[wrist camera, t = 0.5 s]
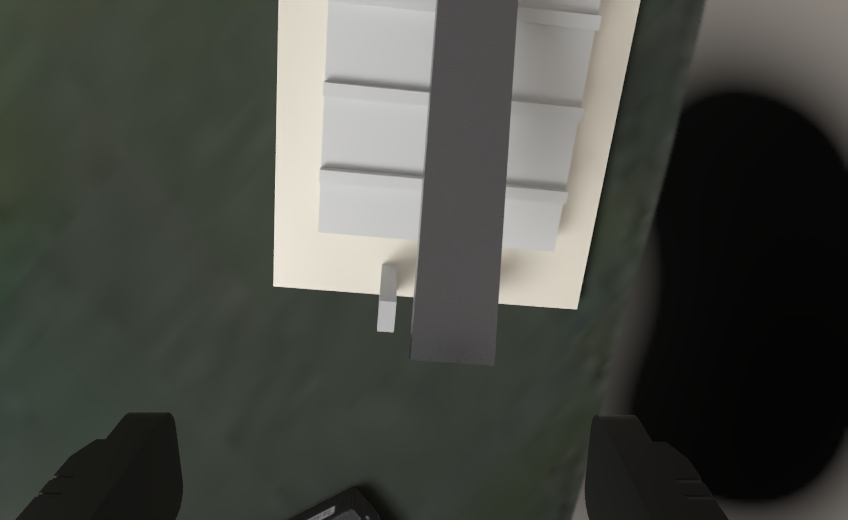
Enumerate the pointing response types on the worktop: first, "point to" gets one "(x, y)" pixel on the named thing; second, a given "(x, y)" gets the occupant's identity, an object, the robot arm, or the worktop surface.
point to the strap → (464, 182)
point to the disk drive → (342, 508)
